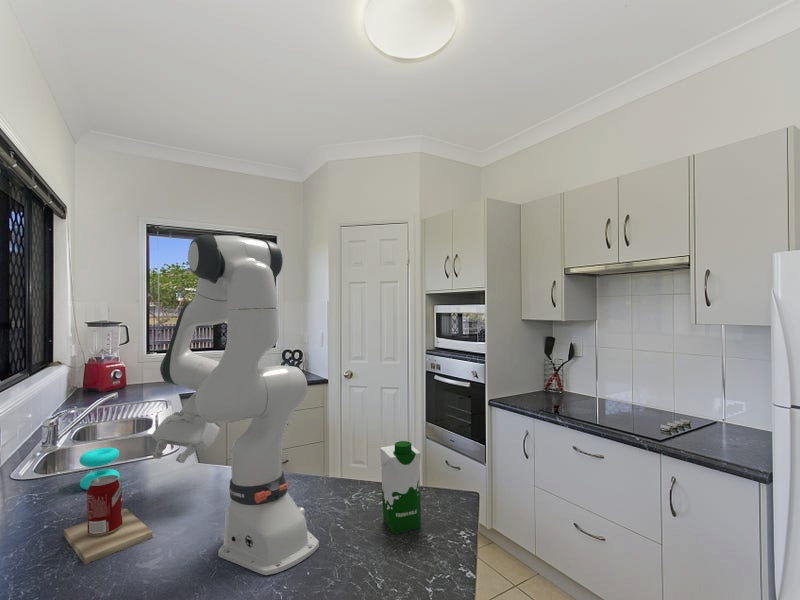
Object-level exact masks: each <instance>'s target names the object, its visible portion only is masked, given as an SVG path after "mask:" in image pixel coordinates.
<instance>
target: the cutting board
mask: <svg viewBox="0 0 800 600" xmlns="http://www.w3.org/2000/svg"><path fill="white" fill-rule="evenodd" d="M63 537H64V538H65V539H66V541H67V542H68V544H70V546H71V548H72V549H73V550H74V552H75V553H76V555H77V556H78V558H79V559H80V560H81V561H82V563H83V562H84V563H83V564H84V565H85V564H86V565H88V564H91V563H92V562H91V561H93V562H95V561H94V560H96V561H98V560H101V559H103V558H105V556H106V557H108V556H110V554H111V555H113V554H115V552H116V553H117V551H118V552H121V551H123V550H125V549H128V548H131V547H133V546H135V545H138V544H141V543H143V542H145V541H148V540H151V539H153V530H151V529H150V528H149V527H148V526H147V525H146V524H145V523H144V522H142V521H141V520H140V519H139V518H138V517H136V516H135V515H134V514H133V513H132V512H131V511H130V510H129V509H127V508H122V526H121V527H120V528H118V529H117V530H116V531H114V532H112V533H110V534H108V535H104V536H92V535H89V534H88V527H87V521H85V522H82V523H79V524H77V525H73V526H71V527H67V528H63ZM120 550H121V551H120ZM112 553H113V554H112ZM107 555H108V556H107ZM100 558H101V559H100ZM97 559H98V560H97ZM90 562H91V563H90ZM87 563H88V564H87Z"/></svg>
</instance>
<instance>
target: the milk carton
mask: <svg viewBox="0 0 800 600" xmlns="http://www.w3.org/2000/svg"><path fill="white" fill-rule="evenodd" d="M379 448H380V461H381V497H382V499H381V501H382V517H383V518H382V519H383V521H384V523H385V525H386V526H387V527H388V529H389V530H390V531H391V533H392V535H395V534H401V533H404V532H405V533H406V532H409V531H413V530H416V529H417V530H418V529H421V527H422V522H421V520H422V519H421V516H422V515H421V514H422V513H421V511H422V509H421V508H422V507H421V506H422V505H421V473H420V472H421V471H420V469H421V468H420V467H421V466H420V465H421V452H420V451H419V450H418V449H417V448H415V447H414V445H412V442H410V441H408V440H407V441H406V440H400V441H396V442H394V444H393V445H388V446H382V447H379Z"/></svg>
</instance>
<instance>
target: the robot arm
mask: <svg viewBox="0 0 800 600" xmlns="http://www.w3.org/2000/svg"><path fill="white" fill-rule="evenodd" d="M283 261H284V260H283V253H282V250H281V249H280V247H279V245H278V244H277V243H275V242H273V241H270V240H267V239H261V240H260V239H256V238H250V237H246V236H245V237H243V236H239V235H225V234H224V235H213V234H201V235H197V236H195V237H194V238H193V239H192V241H191V242H190V244H189V247H188V251H187V262H188V267H189V270H191V271H190V272H191V273H193V274H194V275H195V277H198V278H197V279H198V280H197V285H196V291H195V294H194V295H195V296H194V298H193V299H192V300H191V301H187V302H186V303H185V304H184V305H183V306H182V309H181V310H180V312H179V315H178V317H177V320H176V323H175V326H174V329H173V332H172V336H171V339H170V342H169V344H168V348H167V351H166V353H165V355H164V357H163V359H162V360H161V361H162V362H161V364H160V368H159V370H160V371H159V372H160V375H161V377H162V379H163V381H164V382H165V383H166V384H170V385H174V386H180V387H183V388H187V389H189V390H192V391H194V393H192V395H190V397H189V398H188V400H187V401H186V402H185V404H184V405H183V406H182V408H181V410H180V411H175V412H174V413H171V414H170V415H168V416H166V417H165V418H164V419H163V420H162V421H161V423H160V424H159V425H158V426H157V428H156V429H155V430H153V433H152V439H153V440H155V441H156V442H157V443H156V447H155V450H154V452H153V454H152V457H153V458H154V459H158V460H160V459H162V456H163V455H164V452H163V451H164V448H166V447H167V446H168V445H171V446H176V447H177V446H179V447H184V448H185V447H186V449H185V450H184V451H183V452H181V453H179V454H177V455H178V456H176V458H175V459H176V460H175V461H176V462H178V463H180V464H185V462H186V461H187V459H188V458H189V457H190V456H191V455H193V454H194V453H195V452H196V451H197V449H198V450H203V451H204V450H207V449H209V448H210V447H211V446H212V445H213V443H214V441H216V438H217V436H218V434H219V432H220V428H222V427H223V426H224V424H228V423H229V424H233V423H236V422H240V421H245V420H249V419H251V422H250V424H249V425H248V427H247V428H246V429H245V431H244V432H242V433H241V434H240V435H239V436H237V438H236V439H235V440H234V442H233V444H232V446H231V449H230V456H231V457H230V459H231V462H230V464H231V465H230V467H231V469H230V470H231V478H230V479H229V487H228V490H229V498H230V503H229V506H228V509H227V511H226V512H225V515H224V527H223V528H224V530H223V544H222V545H221V546H220V548H219V549H218V553H217V554H218V557H219V558H220V559H223V560H225V561H229V562H231V563H234V564H236V565H239V566H241V567H243V568H246V569H248V570H250V571H252V572H256V573H258V574H260V575H262V576H269V575H273V574H277V573H280V572H283V571H285V570H288V569H291V568H292V567H294V566H296V565H298V564H299V563H301V562H303V561H304V560H306V559H307V558H308V557H310V556H311V555H312V554H314V553H315V552H316V551H317V549H318V548H319V546H320V542H319V539H317V538H316V537H315V535H314V534H312V533H311V532H310V531H309V530H308V527H307V526H308V525H307V520H306V511H305V509H304V507H302V506H301V507H298V506H297V504H296V503H295V501H294V498H293V497H291V495H290V494H289V492H288V489H289V488H290V486H288V485H290V483H289V482H287V479H286V477H285V473H284V471H283V443H284V436H285V432H286V429H287V428H288V427H287V426H288V423H289V421H290V420H291V417H292V416H293V414H294V412H295V410H297V408H298V407H299V406H300V405H301V404H302V403H303V402H304V400H305V398H306V396H307V392H308V381H307V379H306V375H305V374H304V372H303V371H302V370H301V369H300V368H299V367H297V366H291V365H271V366H265V367H263V366H262V367H258V366H259V364H260V363H259V362H260V361H261V359H262V357H263V356H264V355H265V353H266V352H268V351H270V350H271V349H272V348H274V346H276V344H277V342H278V339H279V311H278V310H279V309H278V306H279V305H278V293H277V287H276V281H275V279H277V277H278V275H280V274H281V271H282V268H283ZM225 322H227V327H226V328H227V330H226V331H227V332H226V333H227V334H226V344H225V349H224V352H223V355H222V357H221V359H220V360H219V361H218V360H216V359H212V358H211V357H206V356H203V355H200V354H196V353H194V352H193V351H192V350H191V349H190V346H191V343H192V340H193V337H194V334H195V330H196V328H197V327H198V326H199V327H200V326H215V325H220V324H222V323H225Z"/></svg>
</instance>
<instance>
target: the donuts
mask: <svg viewBox="0 0 800 600" xmlns="http://www.w3.org/2000/svg"><path fill="white" fill-rule="evenodd" d="M119 456H120V450H119V449H117V448H116V447H102V448H101V447H100V448H97V449H92V450H89V451H87V452H85V453H82V455H81V456H80V457H79V464H80V465H82V466H83V467H86V468H96V467H98V468H99V467H102V466H106V465H109V464H111V463H113V462H115V461H116V460H117V459H118V457H119ZM107 475H117V476H118V480H119V481H120V477H121V475H120V472H119V471H118V470H116V469H113V468H104V469H98V470H95V471H91V472H90V473H88V474H86V475H84V476H83V477H82V478H81V480H80V482H79V487H80V488H81V489H83V490H86V491H87V489H88V488H89V486H90V482H91V481H92V480H94V479H96V478H99V477H102V476H107Z"/></svg>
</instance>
